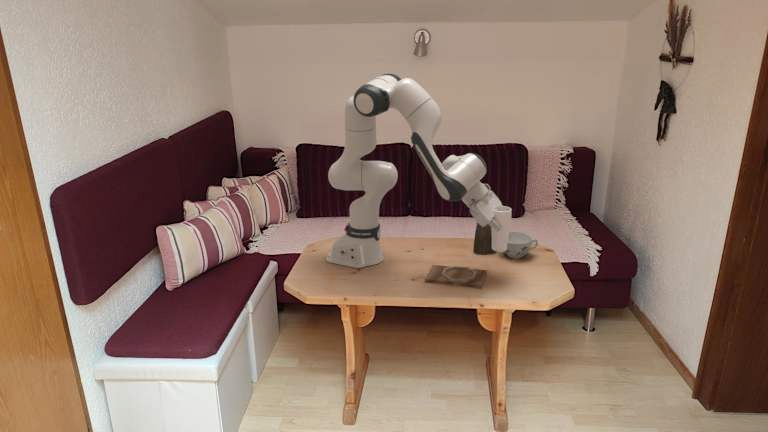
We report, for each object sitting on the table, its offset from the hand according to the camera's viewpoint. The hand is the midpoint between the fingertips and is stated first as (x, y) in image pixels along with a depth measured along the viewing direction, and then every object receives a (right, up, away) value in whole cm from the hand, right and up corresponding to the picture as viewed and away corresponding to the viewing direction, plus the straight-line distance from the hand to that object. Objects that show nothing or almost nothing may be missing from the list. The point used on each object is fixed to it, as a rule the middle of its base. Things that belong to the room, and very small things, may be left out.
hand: (502, 226), depth 186 cm
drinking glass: (0, -8, +3) cm, 9 cm away
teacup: (+12, -12, +27) cm, 32 cm away
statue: (0, -11, +31) cm, 33 cm away
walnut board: (-15, -19, +9) cm, 25 cm away
